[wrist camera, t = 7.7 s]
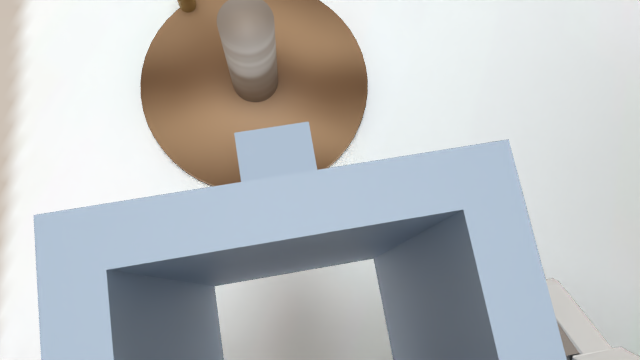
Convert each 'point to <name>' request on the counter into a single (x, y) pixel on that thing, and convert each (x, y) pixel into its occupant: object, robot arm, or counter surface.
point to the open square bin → (304, 254)
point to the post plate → (220, 114)
